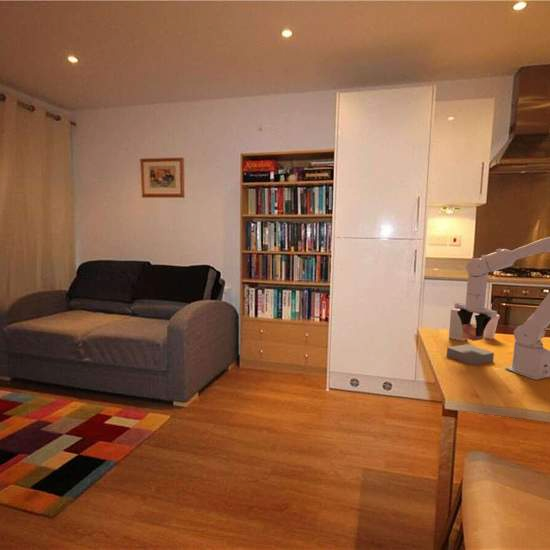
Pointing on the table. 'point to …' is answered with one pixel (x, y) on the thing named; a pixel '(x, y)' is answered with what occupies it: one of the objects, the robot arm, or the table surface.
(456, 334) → the skincare box
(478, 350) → the base block
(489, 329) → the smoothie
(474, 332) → the cube
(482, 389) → the table surface
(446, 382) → the table surface
